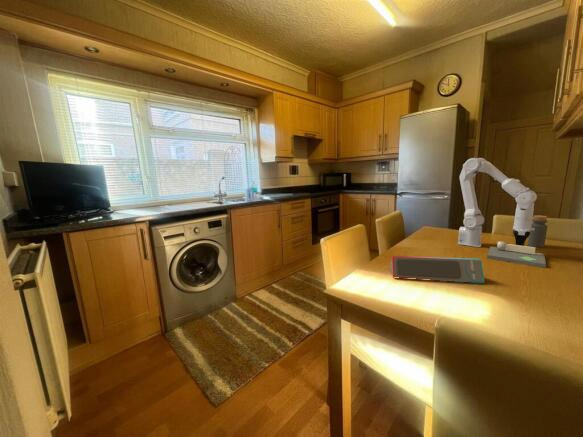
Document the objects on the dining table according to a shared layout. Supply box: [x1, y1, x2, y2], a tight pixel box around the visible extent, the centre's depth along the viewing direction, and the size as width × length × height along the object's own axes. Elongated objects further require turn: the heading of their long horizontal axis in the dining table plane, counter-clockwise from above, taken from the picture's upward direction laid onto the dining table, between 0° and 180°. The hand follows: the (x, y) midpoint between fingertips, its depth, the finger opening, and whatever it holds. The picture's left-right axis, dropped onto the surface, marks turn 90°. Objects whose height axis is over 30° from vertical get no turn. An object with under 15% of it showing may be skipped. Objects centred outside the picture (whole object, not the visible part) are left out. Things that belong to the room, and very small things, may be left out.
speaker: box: [389, 255, 486, 284], centre depth 91 cm, size 9×10×30 cm
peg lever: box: [496, 240, 543, 255], centre depth 107 cm, size 15×3×3 cm, turn 46°
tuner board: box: [486, 246, 547, 269], centre depth 106 cm, size 18×15×2 cm
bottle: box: [527, 214, 548, 249], centre depth 118 cm, size 6×6×15 cm
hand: (519, 247), depth 110 cm, fingers closed
